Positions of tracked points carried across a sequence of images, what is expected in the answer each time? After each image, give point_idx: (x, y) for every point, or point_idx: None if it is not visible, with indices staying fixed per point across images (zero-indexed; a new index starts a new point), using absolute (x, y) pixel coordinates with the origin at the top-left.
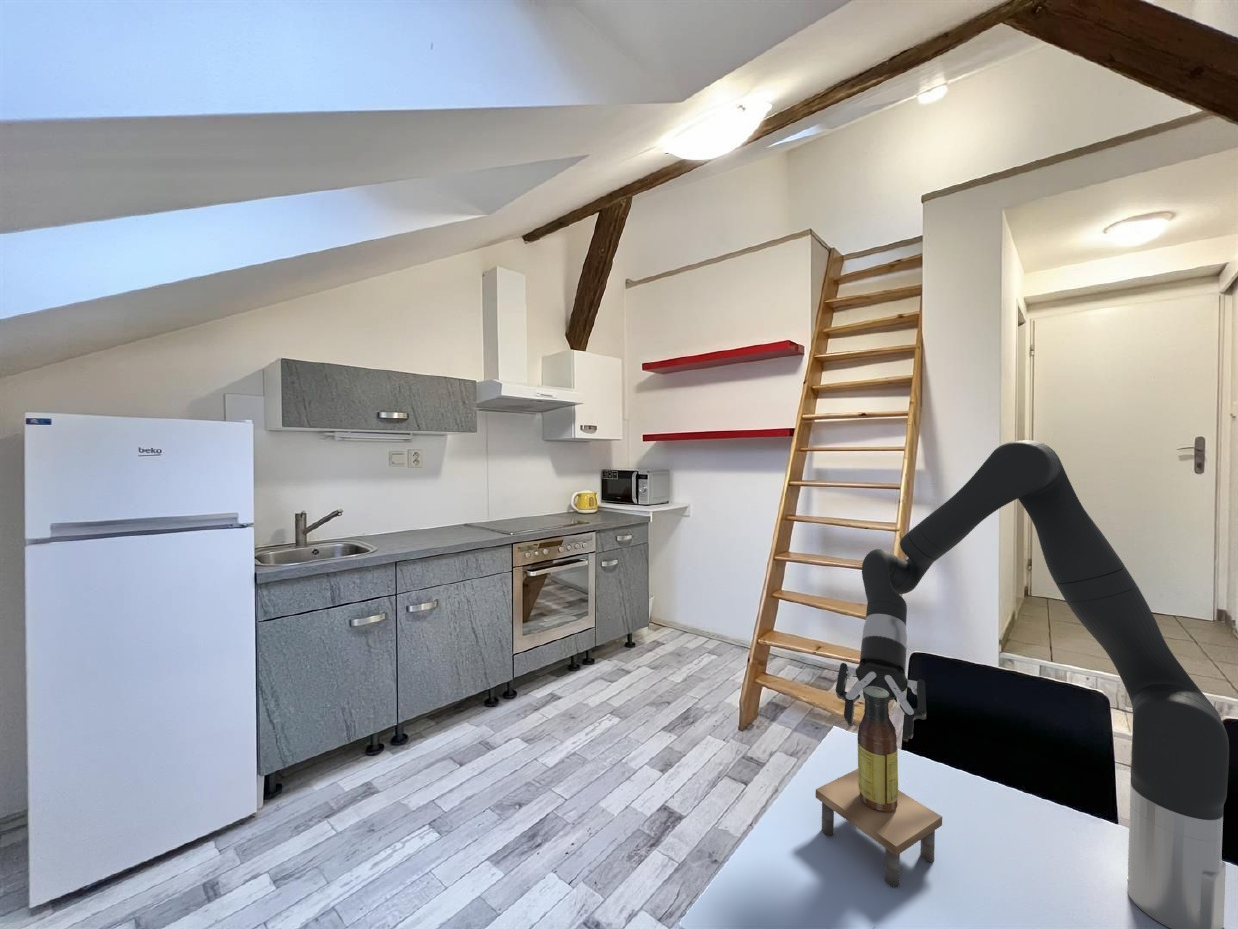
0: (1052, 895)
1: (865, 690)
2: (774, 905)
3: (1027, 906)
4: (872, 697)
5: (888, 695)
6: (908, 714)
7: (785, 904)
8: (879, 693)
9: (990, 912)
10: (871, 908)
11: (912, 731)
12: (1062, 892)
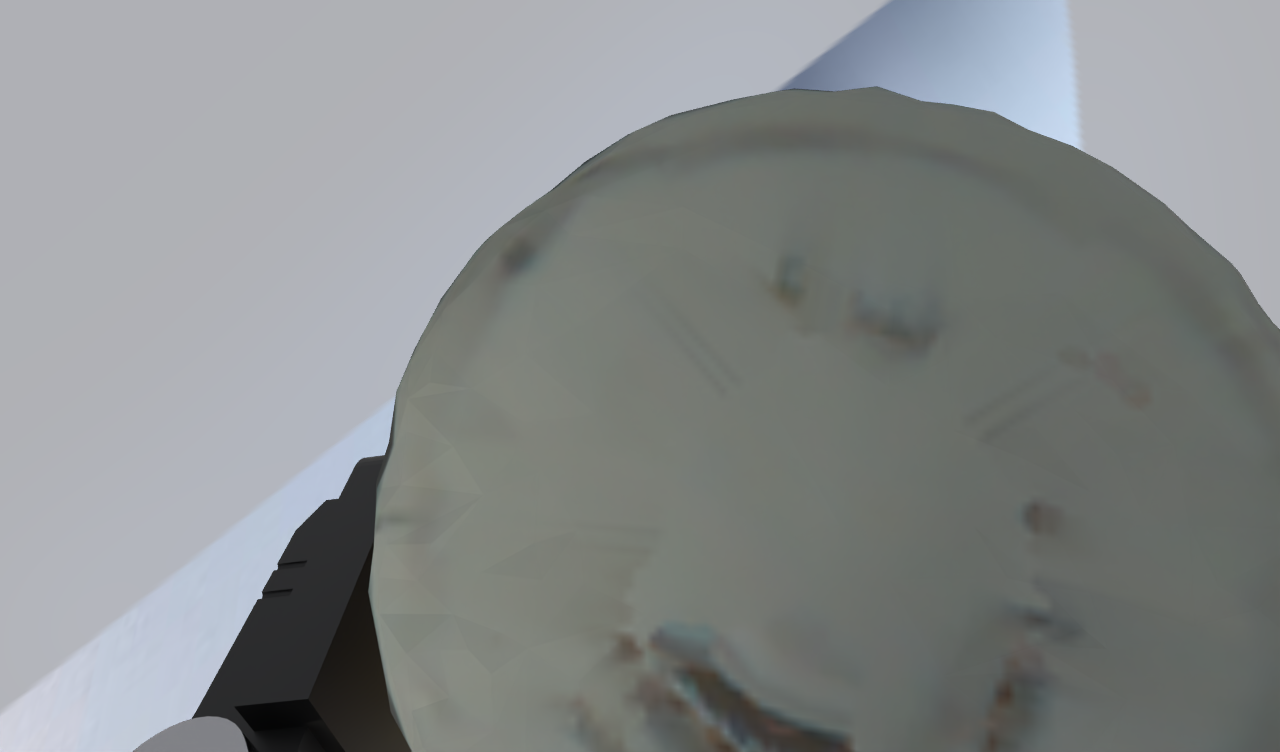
0: (173, 683)
1: (1232, 309)
2: (898, 49)
3: (252, 568)
4: (844, 100)
5: (383, 472)
6: (223, 719)
7: (873, 73)
8: (693, 395)
9: (353, 459)
10: None
11: (288, 547)
12: (141, 725)
